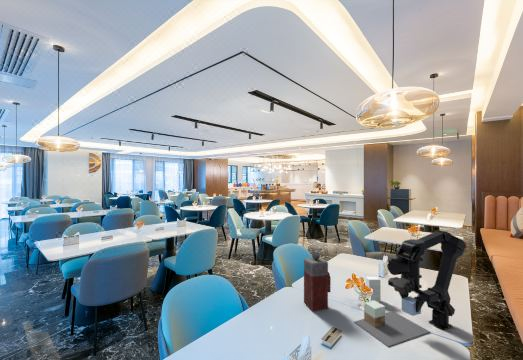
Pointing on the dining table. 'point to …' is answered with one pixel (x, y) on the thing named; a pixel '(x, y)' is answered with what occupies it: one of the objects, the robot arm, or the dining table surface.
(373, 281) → the skincare box
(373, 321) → the tower base
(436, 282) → the robot arm
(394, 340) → the placemat
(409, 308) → the cube
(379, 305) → the tower mid
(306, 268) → the dark red bottle
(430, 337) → the dining table surface
